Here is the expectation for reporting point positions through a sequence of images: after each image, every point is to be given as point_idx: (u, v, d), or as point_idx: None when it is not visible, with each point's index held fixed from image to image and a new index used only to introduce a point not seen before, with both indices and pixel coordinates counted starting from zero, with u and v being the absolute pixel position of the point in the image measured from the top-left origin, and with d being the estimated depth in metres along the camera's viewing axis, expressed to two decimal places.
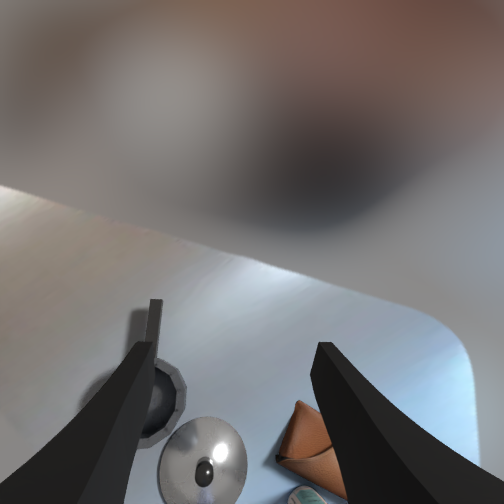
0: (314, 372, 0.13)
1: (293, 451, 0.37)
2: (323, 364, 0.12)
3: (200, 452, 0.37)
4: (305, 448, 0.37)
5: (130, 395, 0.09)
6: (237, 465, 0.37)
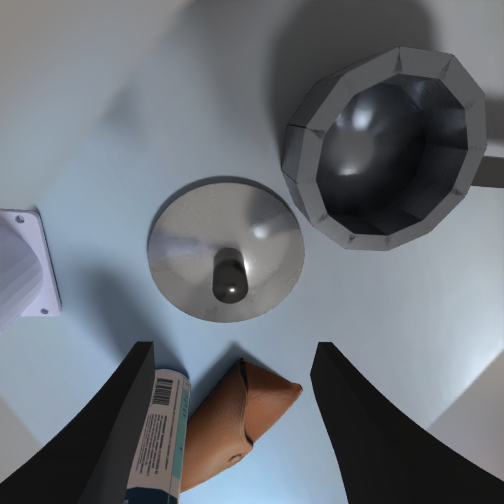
0: (314, 372, 0.13)
1: (252, 399, 0.24)
2: (323, 364, 0.12)
3: (250, 254, 0.20)
4: (252, 411, 0.25)
5: (130, 395, 0.09)
6: (223, 310, 0.22)
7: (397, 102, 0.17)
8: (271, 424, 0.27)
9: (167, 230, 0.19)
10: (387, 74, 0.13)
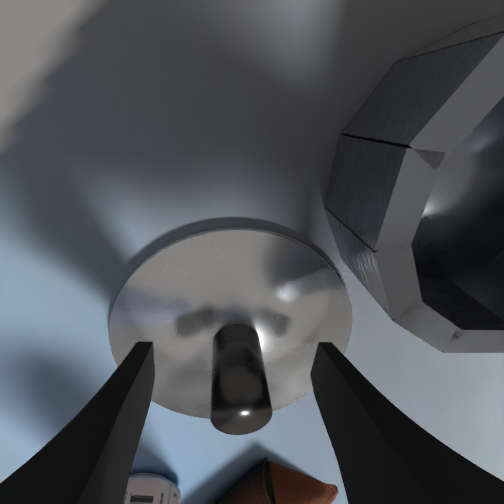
0: (314, 372, 0.13)
1: None
2: (323, 364, 0.12)
3: (270, 332, 0.13)
4: None
5: (130, 395, 0.09)
6: None
7: None
8: None
9: (139, 302, 0.12)
10: None
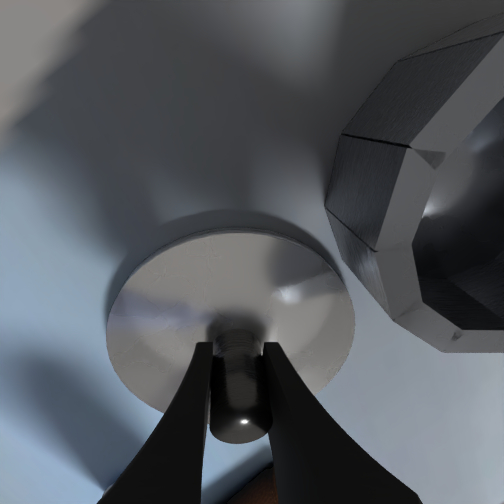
0: None
1: None
2: (266, 364, 0.11)
3: (271, 337, 0.13)
4: None
5: (207, 393, 0.09)
6: None
7: None
8: None
9: (136, 307, 0.11)
10: None
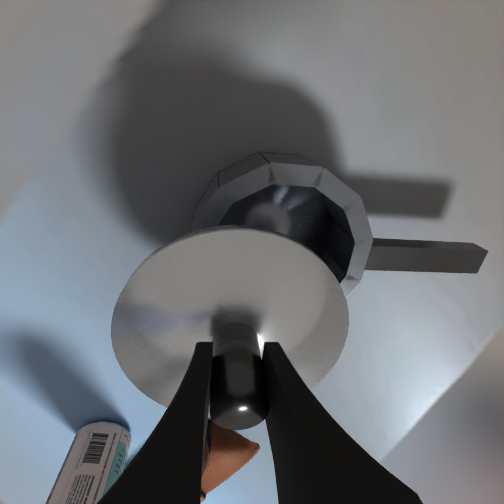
0: None
1: (213, 460, 0.26)
2: (266, 364, 0.11)
3: (269, 332, 0.14)
4: (210, 469, 0.26)
5: (207, 393, 0.09)
6: None
7: (298, 188, 0.17)
8: (225, 479, 0.29)
9: (143, 296, 0.12)
10: (262, 185, 0.14)
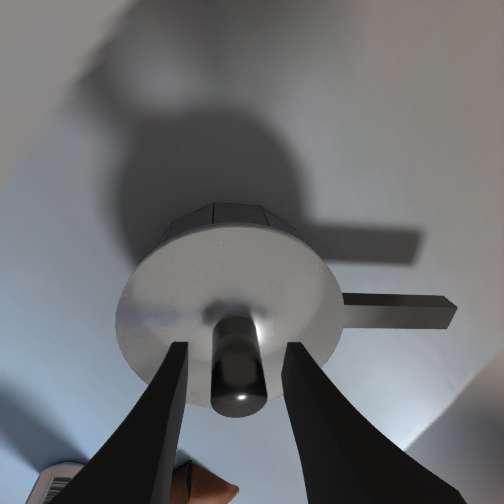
0: (284, 372, 0.13)
1: None
2: (290, 364, 0.12)
3: (267, 326, 0.14)
4: None
5: (175, 394, 0.09)
6: None
7: None
8: None
9: (147, 289, 0.12)
10: None
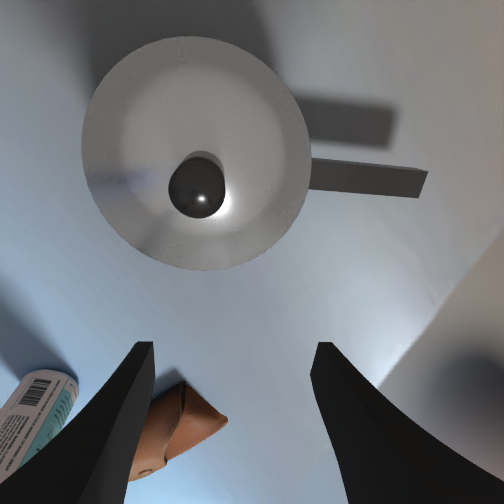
0: (314, 372, 0.13)
1: (183, 422, 0.26)
2: (323, 364, 0.12)
3: (234, 166, 0.14)
4: (179, 433, 0.26)
5: (130, 395, 0.09)
6: (191, 250, 0.16)
7: None
8: (189, 447, 0.29)
9: (111, 108, 0.13)
10: None
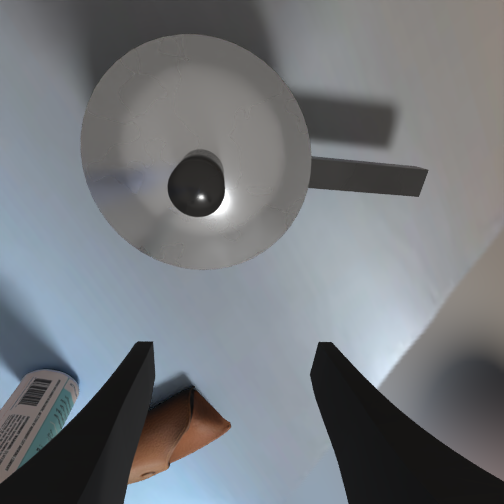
0: (314, 372, 0.13)
1: (191, 427, 0.26)
2: (323, 364, 0.12)
3: (234, 165, 0.14)
4: (185, 437, 0.27)
5: (130, 395, 0.09)
6: (191, 249, 0.16)
7: None
8: (192, 451, 0.30)
9: (111, 107, 0.13)
10: None
